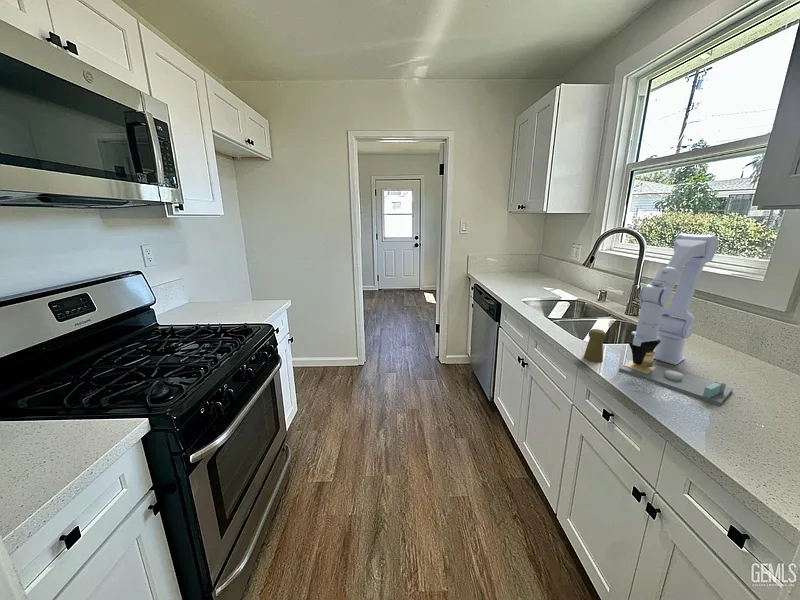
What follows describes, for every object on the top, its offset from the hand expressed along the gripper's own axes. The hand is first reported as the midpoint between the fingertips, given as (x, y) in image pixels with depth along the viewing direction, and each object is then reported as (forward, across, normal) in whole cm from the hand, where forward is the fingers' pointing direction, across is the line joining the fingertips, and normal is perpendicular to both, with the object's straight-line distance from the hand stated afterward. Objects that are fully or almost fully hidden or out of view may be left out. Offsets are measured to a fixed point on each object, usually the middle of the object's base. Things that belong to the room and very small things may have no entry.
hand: (640, 361), depth 110 cm
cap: (+1, 0, +1) cm, 1 cm away
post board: (+3, 0, +9) cm, 10 cm away
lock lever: (+2, +3, +19) cm, 19 cm away
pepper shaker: (+3, +4, -13) cm, 14 cm away
